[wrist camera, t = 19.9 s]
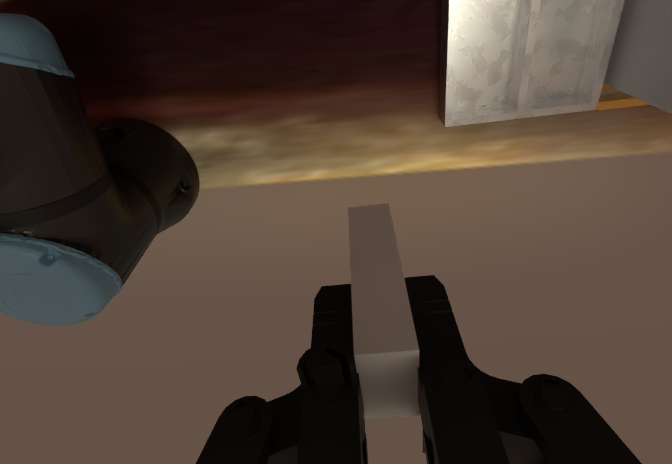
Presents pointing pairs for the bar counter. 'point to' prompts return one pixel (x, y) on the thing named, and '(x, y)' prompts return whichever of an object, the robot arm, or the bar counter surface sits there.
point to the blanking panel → (643, 53)
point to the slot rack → (526, 59)
